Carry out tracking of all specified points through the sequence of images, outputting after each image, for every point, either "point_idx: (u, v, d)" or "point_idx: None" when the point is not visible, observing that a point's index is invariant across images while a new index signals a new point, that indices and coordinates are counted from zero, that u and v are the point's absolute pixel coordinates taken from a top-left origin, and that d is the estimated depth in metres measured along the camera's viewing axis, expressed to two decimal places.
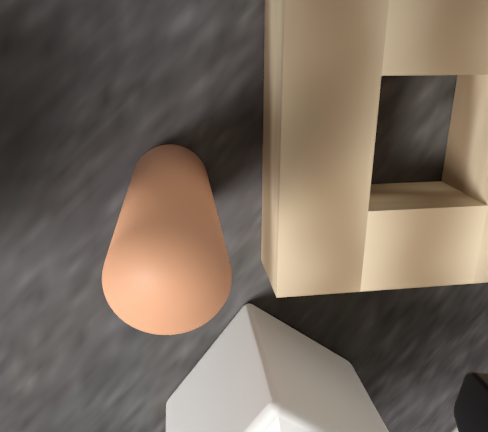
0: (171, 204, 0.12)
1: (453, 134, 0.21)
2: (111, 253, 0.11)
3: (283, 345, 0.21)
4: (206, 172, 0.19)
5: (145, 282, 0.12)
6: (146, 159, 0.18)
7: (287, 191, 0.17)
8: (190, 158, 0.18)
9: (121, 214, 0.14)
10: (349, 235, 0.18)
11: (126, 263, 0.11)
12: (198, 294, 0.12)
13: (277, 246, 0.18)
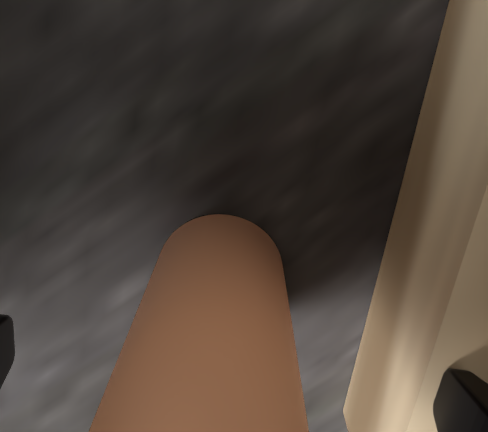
0: None
1: None
2: None
3: None
4: None
5: None
6: (184, 247, 0.10)
7: (443, 368, 0.09)
8: (262, 257, 0.10)
9: None
10: None
11: None
12: None
13: None
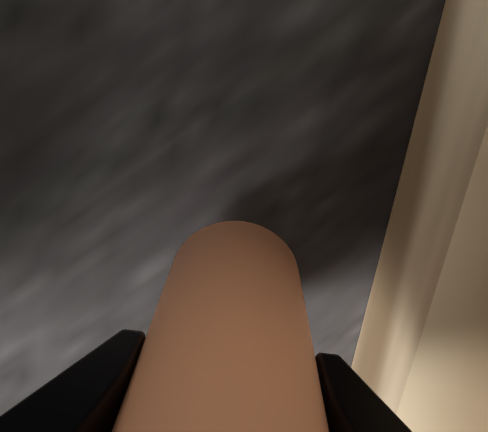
0: None
1: None
2: None
3: None
4: None
5: None
6: (199, 255, 0.10)
7: (435, 335, 0.10)
8: (280, 266, 0.10)
9: None
10: None
11: None
12: None
13: None
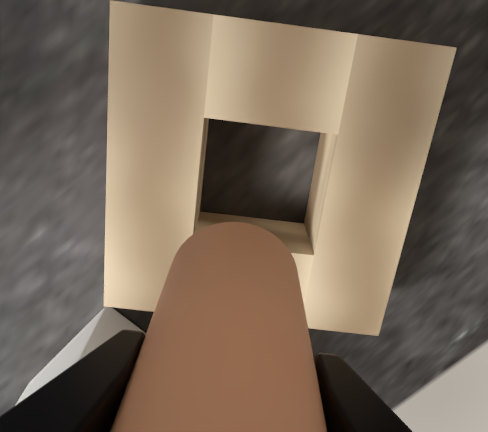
0: None
1: (313, 180, 0.21)
2: None
3: None
4: None
5: None
6: (198, 256, 0.10)
7: (113, 210, 0.18)
8: (279, 267, 0.10)
9: None
10: None
11: None
12: None
13: (105, 259, 0.19)
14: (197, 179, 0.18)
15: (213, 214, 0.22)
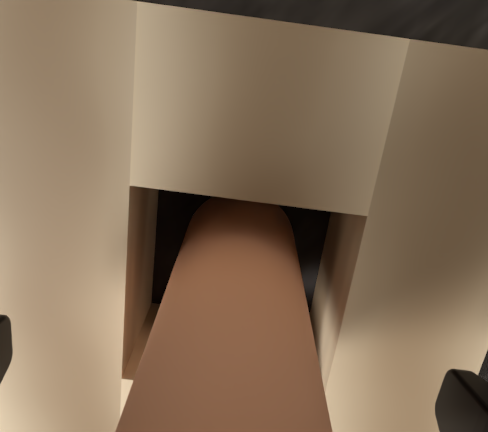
0: (248, 379, 0.06)
1: (323, 264, 0.14)
2: None
3: None
4: None
5: None
6: (212, 214, 0.12)
7: None
8: (277, 223, 0.12)
9: (153, 344, 0.07)
10: (93, 406, 0.12)
11: None
12: None
13: None
14: (125, 284, 0.11)
15: None
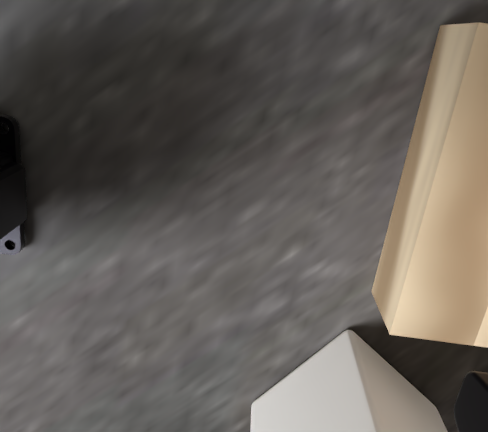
0: None
1: None
2: None
3: (382, 378, 0.21)
4: None
5: None
6: None
7: (425, 238, 0.18)
8: None
9: None
10: (476, 290, 0.18)
11: None
12: None
13: (402, 287, 0.18)
14: None
15: None
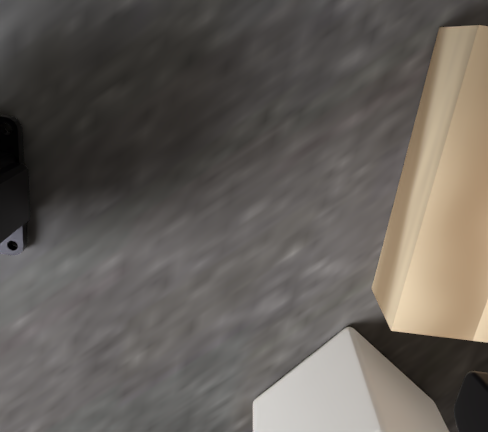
0: None
1: None
2: None
3: (382, 374, 0.22)
4: None
5: None
6: None
7: (426, 235, 0.18)
8: None
9: None
10: (475, 286, 0.19)
11: None
12: None
13: (403, 283, 0.19)
14: None
15: None
